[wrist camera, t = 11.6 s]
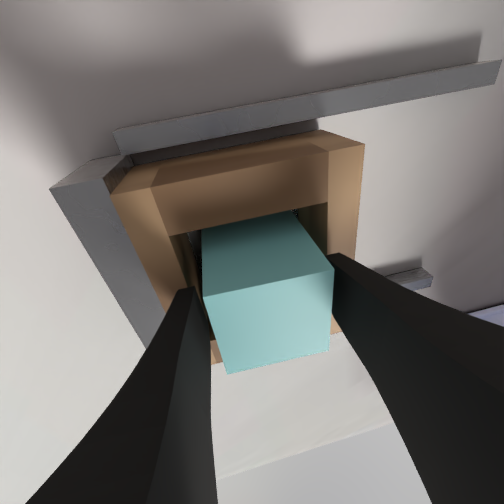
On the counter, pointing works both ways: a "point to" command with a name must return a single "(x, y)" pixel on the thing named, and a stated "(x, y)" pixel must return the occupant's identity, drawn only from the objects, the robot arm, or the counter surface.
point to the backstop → (212, 126)
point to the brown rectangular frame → (239, 202)
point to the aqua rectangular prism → (266, 291)
